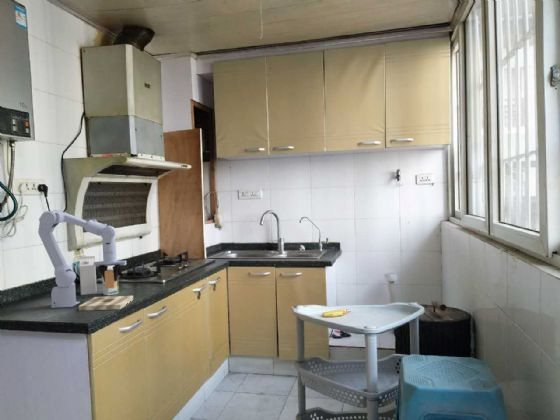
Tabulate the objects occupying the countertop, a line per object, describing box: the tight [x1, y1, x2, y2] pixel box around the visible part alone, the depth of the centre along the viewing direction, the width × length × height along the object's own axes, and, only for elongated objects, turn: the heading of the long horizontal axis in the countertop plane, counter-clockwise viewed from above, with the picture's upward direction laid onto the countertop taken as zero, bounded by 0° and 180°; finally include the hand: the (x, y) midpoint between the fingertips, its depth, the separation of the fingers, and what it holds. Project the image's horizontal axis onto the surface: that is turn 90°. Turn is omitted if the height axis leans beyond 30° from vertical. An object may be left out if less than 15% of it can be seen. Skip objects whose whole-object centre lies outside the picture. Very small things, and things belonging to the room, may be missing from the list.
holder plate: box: [78, 295, 134, 312], centre depth 187 cm, size 18×16×2 cm
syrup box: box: [101, 265, 120, 297], centre depth 209 cm, size 6×6×14 cm
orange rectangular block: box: [105, 269, 117, 288], centre depth 192 cm, size 4×4×8 cm
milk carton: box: [79, 255, 97, 296], centre depth 212 cm, size 7×7×19 cm
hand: (110, 281), depth 192 cm, fingers closed on orange rectangular block, 4 cm apart
